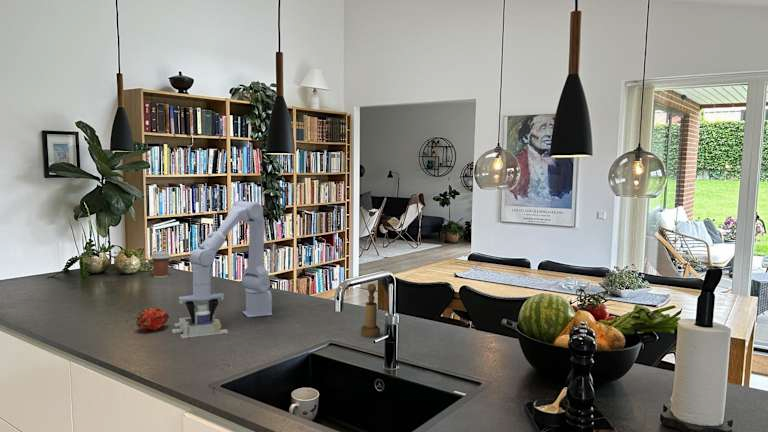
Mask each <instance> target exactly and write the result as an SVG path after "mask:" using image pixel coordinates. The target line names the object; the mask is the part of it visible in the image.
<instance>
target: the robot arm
mask: <svg viewBox="0 0 768 432" xmlns="http://www.w3.org/2000/svg"><path fill="white" fill-rule="evenodd" d="M229 211H230V212H229V213H228V215H227V216H226V217H225V218H224V220H223V222H222V223H221V225H219V227H218V229H217V230H216V231H211V232H209V233H208V234H207V237H206V238H205V239H204V241H203V242H201V244H200V245H199V246H198V247H197V248H194V249H193V250H192V251H191V252H190V256H189V257H188V260H189V262H190V263H191V267H192V294H190V295H185V296H184V295H183V296H178V297H179V301H178V302H179V304H181V305H182V304H185V306H186V309H187V310H188V313H189V315H190V316H189V317H191V322H192V323H194V322H195V318H194V312H195V309H196V305H195V303H197V302H208V310H209V311H210V321H212V318H213V315H215V314H214V313H215V311H216V309H217V307H218V305H219V301H224V300H225V297H224V296H225V295H224V293H223V292H222V293H220V292H219V293H211V265H212V264H213V263H214V262H215V257H216V255H217V253H218V252H219V250H220V248H221V247H222V246H223V245H224V243H226V238H225V237H226V236H227V235H228V234H229V233H231V231H232V230H233V229H234V228H235V227H236V225H237V224H238V223H240V222H245V223H246V224H247V225H249V229H248V230H249V231H248V233H249V235H248V236H249V237H248V238H249V239H248V263H247V264H248V266H247V267H246V268H245V269H244V270H243V276H242V278H241V285H242V287H243V288H244V292H245V310H243V311H242V313H243V315H245V316H246V317H247V318H255V317H264V316H273V313H272V312H273V311H272V310H273V307H272V306H273V296H272V295H273V294H272V292H271V290H269V288H270V284H271V281H270V278H269V271H268V269H266V268H265V267H264V250H265V217H264V207H263V206H262V205H261V204H260V203H259V202H257V201H246V200H237V201H235V202H234V204H232V205H231V207H230V209H229Z"/></svg>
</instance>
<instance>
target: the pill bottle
mask: <svg viewBox="0 0 768 432" xmlns="http://www.w3.org/2000/svg"><path fill="white" fill-rule="evenodd" d="M195 309H196V310H194V318H195V322H194V325H195V324H205V323H210V311H209V303H206V302H201V303H196V305H195Z"/></svg>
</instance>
